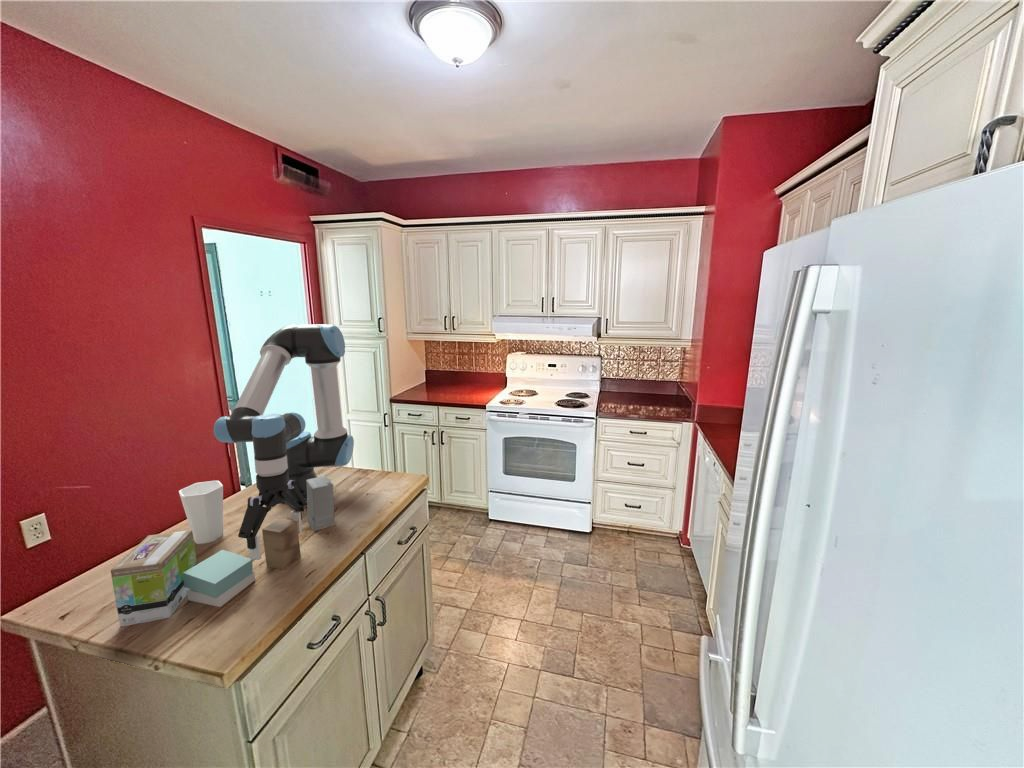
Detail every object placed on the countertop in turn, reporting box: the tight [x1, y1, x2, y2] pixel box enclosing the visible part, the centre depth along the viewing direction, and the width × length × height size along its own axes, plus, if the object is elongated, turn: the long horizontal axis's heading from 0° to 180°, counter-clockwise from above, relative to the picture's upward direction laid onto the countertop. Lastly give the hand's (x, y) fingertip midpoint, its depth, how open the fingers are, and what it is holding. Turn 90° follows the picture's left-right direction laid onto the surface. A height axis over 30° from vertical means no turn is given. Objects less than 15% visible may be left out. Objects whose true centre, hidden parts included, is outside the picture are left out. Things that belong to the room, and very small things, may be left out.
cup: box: [178, 480, 224, 545], centre depth 124 cm, size 11×10×17 cm
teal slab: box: [183, 549, 254, 598], centre depth 101 cm, size 10×10×4 cm
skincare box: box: [306, 475, 335, 532], centre depth 132 cm, size 8×7×16 cm
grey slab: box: [186, 570, 256, 608], centre depth 102 cm, size 10×10×4 cm
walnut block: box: [261, 518, 302, 571], centre depth 112 cm, size 6×6×12 cm
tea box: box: [110, 529, 198, 628], centre depth 97 cm, size 15×10×15 cm, turn 17°
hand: (277, 545), depth 110 cm, fingers open, 13 cm apart
